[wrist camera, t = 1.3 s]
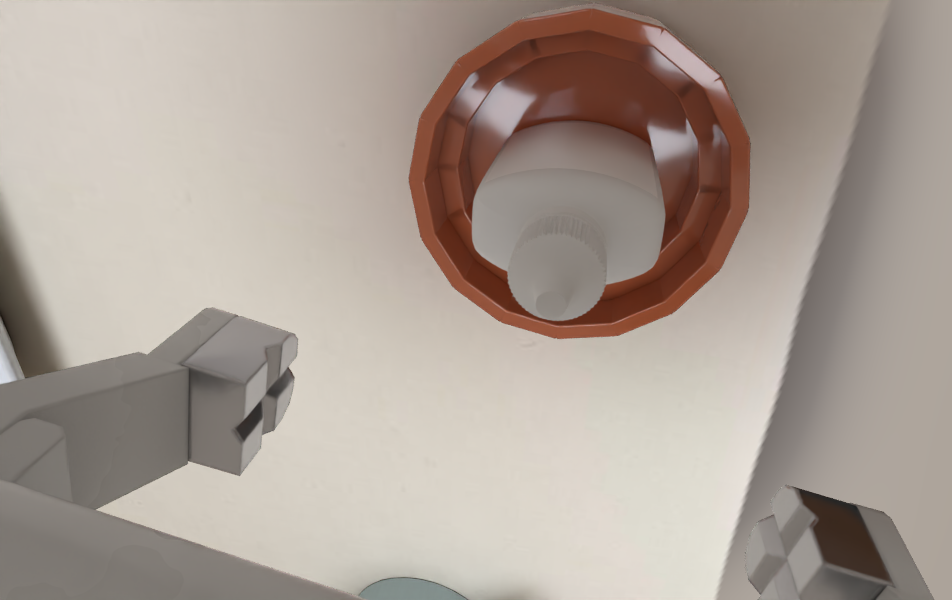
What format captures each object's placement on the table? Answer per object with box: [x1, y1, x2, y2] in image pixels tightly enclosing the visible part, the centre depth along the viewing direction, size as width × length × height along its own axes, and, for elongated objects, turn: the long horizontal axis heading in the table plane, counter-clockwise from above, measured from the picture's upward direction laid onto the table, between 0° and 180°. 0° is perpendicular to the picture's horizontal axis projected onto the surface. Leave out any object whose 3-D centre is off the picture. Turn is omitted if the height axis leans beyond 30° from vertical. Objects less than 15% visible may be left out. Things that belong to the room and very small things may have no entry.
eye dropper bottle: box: [472, 120, 666, 321], centre depth 19 cm, size 4×6×12 cm
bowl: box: [409, 3, 751, 339], centre depth 23 cm, size 11×11×4 cm
